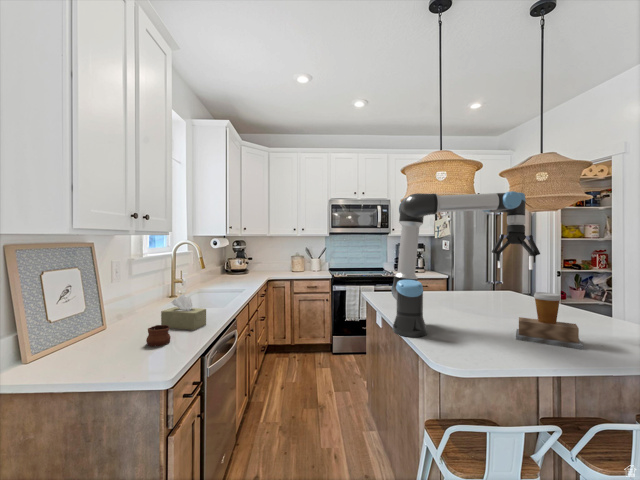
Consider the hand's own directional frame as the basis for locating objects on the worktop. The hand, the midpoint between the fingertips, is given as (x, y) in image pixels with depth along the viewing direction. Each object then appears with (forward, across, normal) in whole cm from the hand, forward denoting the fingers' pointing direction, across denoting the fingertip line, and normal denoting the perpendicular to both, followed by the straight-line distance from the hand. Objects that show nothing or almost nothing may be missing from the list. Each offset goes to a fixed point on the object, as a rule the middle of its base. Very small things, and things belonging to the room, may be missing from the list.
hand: (515, 268), depth 148 cm
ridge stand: (+29, -7, +14) cm, 33 cm away
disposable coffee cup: (+22, -8, +13) cm, 27 cm away
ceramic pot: (+38, +151, +51) cm, 164 cm away
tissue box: (+37, +157, +26) cm, 163 cm away
